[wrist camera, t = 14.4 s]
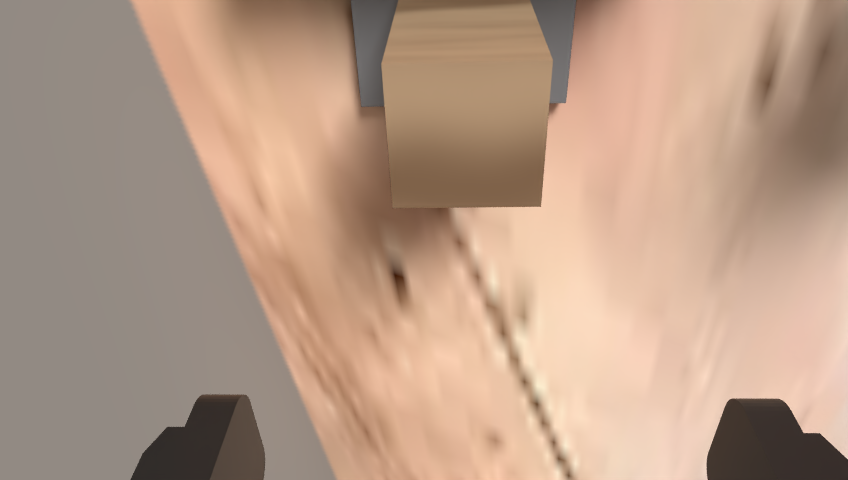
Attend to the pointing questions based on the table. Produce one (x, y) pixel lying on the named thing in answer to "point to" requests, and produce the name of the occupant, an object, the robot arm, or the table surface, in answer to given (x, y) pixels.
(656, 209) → the table surface
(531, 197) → the wooden block
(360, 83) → the dark gray upright panel
